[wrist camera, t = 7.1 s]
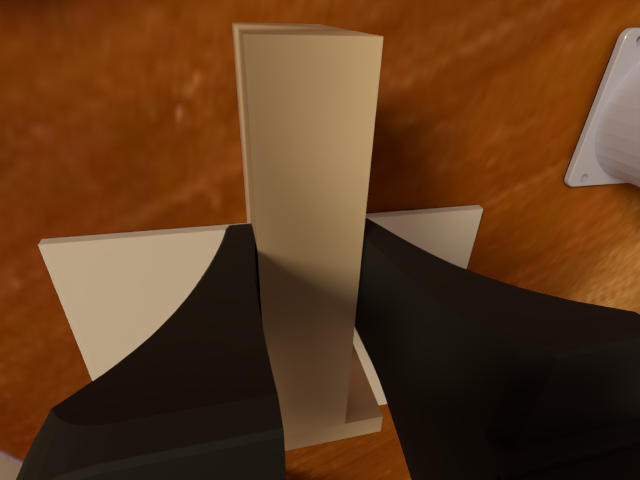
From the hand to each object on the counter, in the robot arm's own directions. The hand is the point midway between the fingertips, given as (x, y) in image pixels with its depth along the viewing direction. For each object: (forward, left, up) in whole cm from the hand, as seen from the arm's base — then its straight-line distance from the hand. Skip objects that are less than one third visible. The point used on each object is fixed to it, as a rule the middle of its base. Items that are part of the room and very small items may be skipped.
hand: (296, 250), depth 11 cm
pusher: (0, 0, -3) cm, 3 cm away
